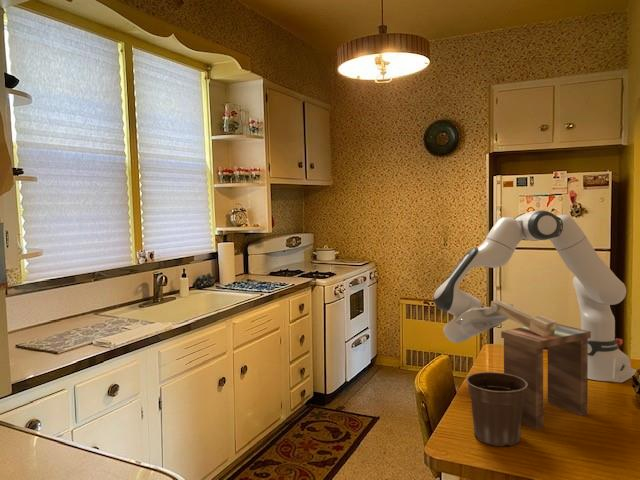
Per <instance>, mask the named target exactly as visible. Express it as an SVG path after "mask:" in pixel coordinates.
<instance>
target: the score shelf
mask: <svg viewBox="0 0 640 480" xmlns="http://www.w3.org/2000/svg"><path fill="white" fill-rule="evenodd" d="M500 334H501V335H500V337H501V339H503V373H505V374H510V375H514V376H517V377H520V378H522V379H524V380H525V381H526V382H527V383H528V387H527V388H526V392H525V400H524V402H523V412H522V422H521V424H523V425H525V426H528V427H529V428H532V429H533V430H540V429H543V428H544V348H547V403H548V404H550V405H553V406H555V407H558V408H561V409H563V410H565V411H566V412H567V411H568V412H570V413H572V414H575V415H578V416H580V417H582V416H585V415H588V401H589V400H588V397H589V396H588V395H589V394H588V384H589V381H588V338H591V331H586V330H582V329H581V328H577V327H572V326H568V325H564V324H559V323H556V328H555V333H554V334H553V335H549V336H545V337H543V336H541V335H538V334H536V333H534V332H532V331H530V330H529V328H527V327H525V326H523V327H517V328H511V329H510V328H509V329H506V330H502V331H501V332H500Z"/></svg>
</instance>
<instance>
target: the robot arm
mask: <svg viewBox="0 0 640 480" xmlns="http://www.w3.org/2000/svg"><path fill="white" fill-rule="evenodd" d="M547 240H549V241H550V242H551V243H552V244H553V247H554V248H555V250H556V251H557V253H558V255H559V257H560V258H561V260H562V261H563V263H564V265H565V266H566V268H567V269H568V270H569V271H570V272H572V274H573V275H574V277H573V279H572V287H573V289H574V290H575V294H576V297H577V303H578V308H579V313H580V329H582V330H586V331H591V338H588V379H589V380H592V381H593V380H594V381H598V382H599V381H600V382H613V383H624V382H625V381H628V380H630V379H631V378H633V377H632V376H633V375H634V374H635V372H636V371H637V369H634V368H632V366H631V359H630V357H629V356H628V355H627V354H626V353H624V352H623V351H621V349H620V348H619V346H618V345H622V344H623V341H624V340H623V339H622V338H617V337H616V319H615V316H614V314H613V311H612V309H611V306H612V305H613V306H614V305H618V304H620V303H621V302H622V301H623V300H624V299H625V298H626V295H627V288H626V285H625V283H624V282H622V281H621V280H620V279H619V277H617V276H616V274H615V273H614V272H613V270H611V268H610V267H609V266H608V264H607V263H606V262H605V261H604V260H603V259H602V258H601V257H600V255H598V253H597V251H595V248H594V247H593V245H592V243H591V242H590V240H589V239H588V237H587V235H586V234H585V233H584V231H583V229H582V228H581V227H580V225H579V224H578V223H577V221H575V220H574V219H573V218H572V217H571V216H570V215H568V214H558V215H555V214H554V213H553V212H550V211H547V210H531V211H528V212H522V213H520V214H518V215H517V216H516V217H514V218H513V217H509V216H505V217H504V216H502V217H501V218H499V219H498V220H497V221H496V222H495V224H494V225H493V226H492V228H491V229H490V231H489V232H488V233H487V235H486V237H485V239H484V241H483V242H482V243H481V244H480V245H479V246H477V247H472V248H471V249H469V250H468V251H467V252H466V253H465V254H464V256H462V257H461V259H460V260H459V261H458V262H457V264H456V266H455V267H454V268H453V270H452V271H451V272H450V274H449V275H448V276H447V277H446V279H445V280H443V281H442V283H441V284H440V285H439V286H438V287H437V289H436V290H435V292H434V293H433V302H434V305H435V307H436V308H437V309H439V310H441V311H443V312H446V313H449V314H451V315H453V319H450V320H449V321H448V322H447V323H446V324H445V325H444V326H443V329H442V330H443V334H444V336H445V338H446V339H447V340H449V341H450V342H452V343H456V344H458V343H462V342H465V341H467V340H469V339H472V338H473V337H474V336H478V335H480V334H481V333H485V332H487V331H488V330H490V329H493V328H496V327H499V326H501V324H502V323H503V322H506V321H507V320H508V318H506V317H504V316H502V315H500V314H498V313H496V312H497V311H499V310H500V308H499V306H498V305H494V306H492V307H490V306H489V307H488V306H487V307H484V305H483V302H482V300H480V299H479V298H477V297H475V296H474V295H472V294H470V293H468V292H465V291H463V290H462V289H460V288H459V285H460V283H461V282H462V281H463V280H464V278H465V277H466V276H467V275H468V273H469V272H470V271H472V269H474V268H477V267H482V268H483V267H484V268H491V269H494V268H496V269H498V268H501V267H504V266H505V265H507V264H508V262H509V261H510V260H511V258H512V256H513V255H514V252H515V250H516V249H517V246H518V244H519V243H520V242H521V241H528V242H529V241H531V242H538V241H547ZM507 304H508V305H510V306H512V307H514V308H515V306H514V304H512V303H507ZM615 337H616V338H615Z"/></svg>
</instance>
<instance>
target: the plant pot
mask: <svg viewBox="0 0 640 480" xmlns="http://www.w3.org/2000/svg"><path fill="white" fill-rule="evenodd" d="M465 381H466V384H467V386H468V395H469V396H470V402H471V413H472V414H471V415H472V422H473V434H474V437H476V438H477V440H478V441H480V442H482V443H484V444H486V445H489V446H495V447H504V446H509V447H511V446H515V445H517V444H518V443H520V441H521V433H522V432H521V431H522V423H521V422H522V412H523V402H524V400H525V392H526V388H527V387H528V383H527V382H526V381H525V380H524V379H522V378H520V377H517V376H514V375H510V374H505V373H504V372H497V371H485V372H483V371H482V372H481V371H480V372H476V373H472V374H470V375H468V376H467V377H466V379H465Z"/></svg>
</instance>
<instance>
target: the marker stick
mask: <svg viewBox="0 0 640 480" xmlns="http://www.w3.org/2000/svg"><path fill="white" fill-rule="evenodd" d="M508 304H509V303H505V302H503V301H501V300H498V299H496V300H492V301H490V306H489V307H492V306H494V305H498V306H499V308H500V310H499V311H497V312H496V313H498V314H500V315H502V316H504V317H506V318H508V319H509V320H511V321H512V322H515V323H516V324H520V325H522V326H523V327H527V328H529V330H530V331H532V332H534V333H536V334H538V335H541V336H543V337H545V336H549V335H553V334H554V333H555V328H556V324H558V322H557V321H556V320H555V319H554V320H553V319H551V318H548V317H546V316H544V315H537V316H534V315H532V314H530V313H527V312H525V311H523V310H520V309H518V308H516V307H515V306H514V307H512V306H510V305H508ZM508 319H507V320H508Z"/></svg>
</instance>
